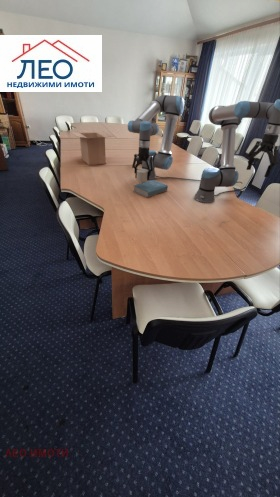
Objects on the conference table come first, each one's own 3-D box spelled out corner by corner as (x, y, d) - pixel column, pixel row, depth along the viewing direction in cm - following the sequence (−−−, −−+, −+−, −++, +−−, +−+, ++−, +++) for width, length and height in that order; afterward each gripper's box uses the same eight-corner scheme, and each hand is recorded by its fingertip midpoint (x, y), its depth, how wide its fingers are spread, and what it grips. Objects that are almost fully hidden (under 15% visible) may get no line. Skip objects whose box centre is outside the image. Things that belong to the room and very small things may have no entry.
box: (116, 165, 229) (116, 136, 213) (83, 168, 214) (80, 137, 198) (102, 154, 259) (101, 128, 243) (71, 156, 244) (68, 129, 228)
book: (152, 185, 190) (153, 179, 187) (167, 191, 181) (167, 185, 178) (133, 191, 176) (133, 185, 173) (147, 198, 167) (148, 191, 164)
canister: (146, 178, 173) (147, 168, 168) (148, 182, 166) (149, 172, 161) (135, 178, 171) (136, 168, 166) (137, 182, 164) (138, 172, 160)
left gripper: (127, 145, 154) (127, 177, 167) (157, 150, 149) (154, 182, 162) (131, 143, 159) (130, 174, 173) (160, 147, 154) (157, 179, 168)
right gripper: (249, 129, 127) (237, 167, 140) (287, 138, 109) (269, 180, 122) (258, 129, 130) (245, 166, 143) (297, 138, 112) (279, 179, 125)
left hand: (142, 178), depth 168 cm, fingers closed on canister, 9 cm apart
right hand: (256, 173), depth 132 cm, fingers open, 13 cm apart
